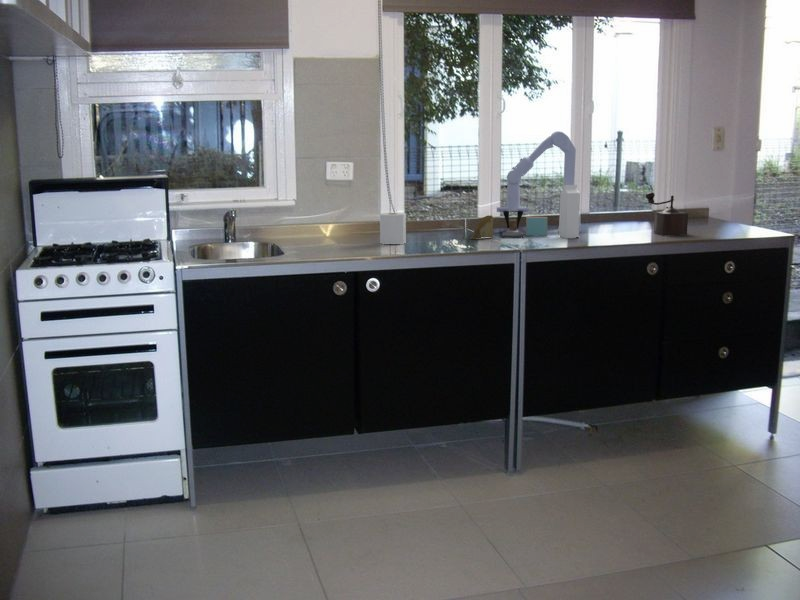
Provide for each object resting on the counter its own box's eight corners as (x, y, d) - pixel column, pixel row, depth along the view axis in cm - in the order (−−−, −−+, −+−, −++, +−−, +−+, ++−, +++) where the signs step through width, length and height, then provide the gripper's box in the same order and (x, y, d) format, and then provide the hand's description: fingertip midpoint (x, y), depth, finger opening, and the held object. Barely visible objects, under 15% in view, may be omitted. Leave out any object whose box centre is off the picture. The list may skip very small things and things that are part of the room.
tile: (547, 235, 373) (547, 217, 371) (547, 236, 371) (547, 217, 369) (525, 235, 374) (526, 216, 373) (525, 236, 372) (526, 217, 371)
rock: (473, 235, 358) (497, 231, 359) (468, 217, 362) (492, 213, 362) (471, 247, 368) (494, 244, 369) (466, 230, 371) (489, 226, 372)
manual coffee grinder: (673, 232, 381) (675, 190, 378) (687, 234, 371) (690, 192, 367) (641, 233, 377) (643, 191, 374) (655, 236, 367) (657, 193, 363)
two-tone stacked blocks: (518, 230, 390) (518, 219, 389) (517, 234, 378) (518, 222, 377) (507, 230, 391) (507, 219, 390) (506, 234, 379) (506, 222, 378)
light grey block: (376, 244, 350) (375, 214, 347) (387, 241, 359) (386, 212, 357) (399, 245, 346) (398, 215, 343) (409, 242, 355) (409, 212, 353)
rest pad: (523, 234, 377) (523, 232, 377) (523, 238, 365) (523, 235, 365) (502, 234, 378) (502, 232, 378) (501, 237, 367) (501, 235, 366)
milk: (559, 237, 368) (560, 184, 363) (571, 236, 370) (572, 184, 365) (566, 238, 362) (567, 185, 358) (579, 237, 364) (580, 185, 360)
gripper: (496, 198, 383) (496, 229, 385) (529, 198, 380) (529, 229, 383) (497, 197, 389) (496, 227, 392) (529, 197, 387) (529, 227, 390)
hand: (512, 228), depth 388 cm, fingers open, 3 cm apart
